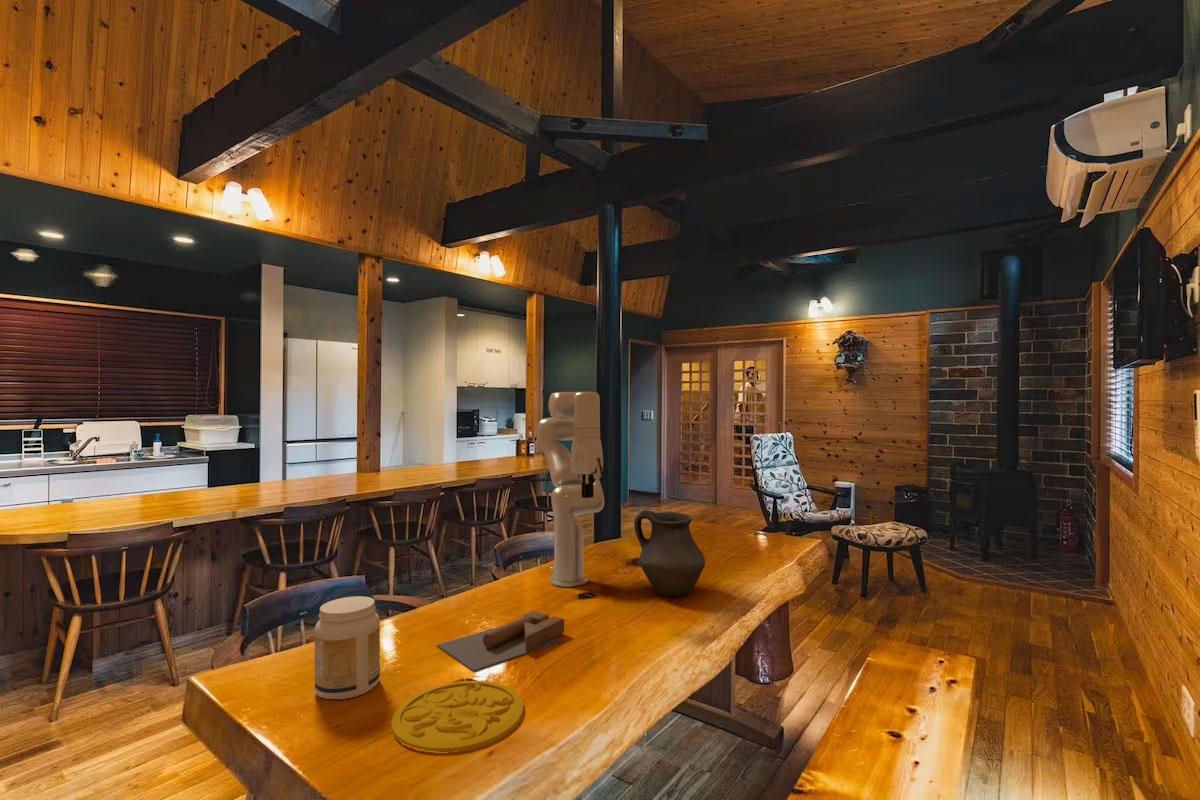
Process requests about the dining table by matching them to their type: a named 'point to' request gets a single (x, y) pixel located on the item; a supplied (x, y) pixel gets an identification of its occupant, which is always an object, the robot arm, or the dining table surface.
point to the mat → (488, 650)
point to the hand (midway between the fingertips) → (587, 497)
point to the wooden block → (527, 630)
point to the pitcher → (669, 553)
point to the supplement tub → (347, 648)
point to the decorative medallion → (458, 716)
